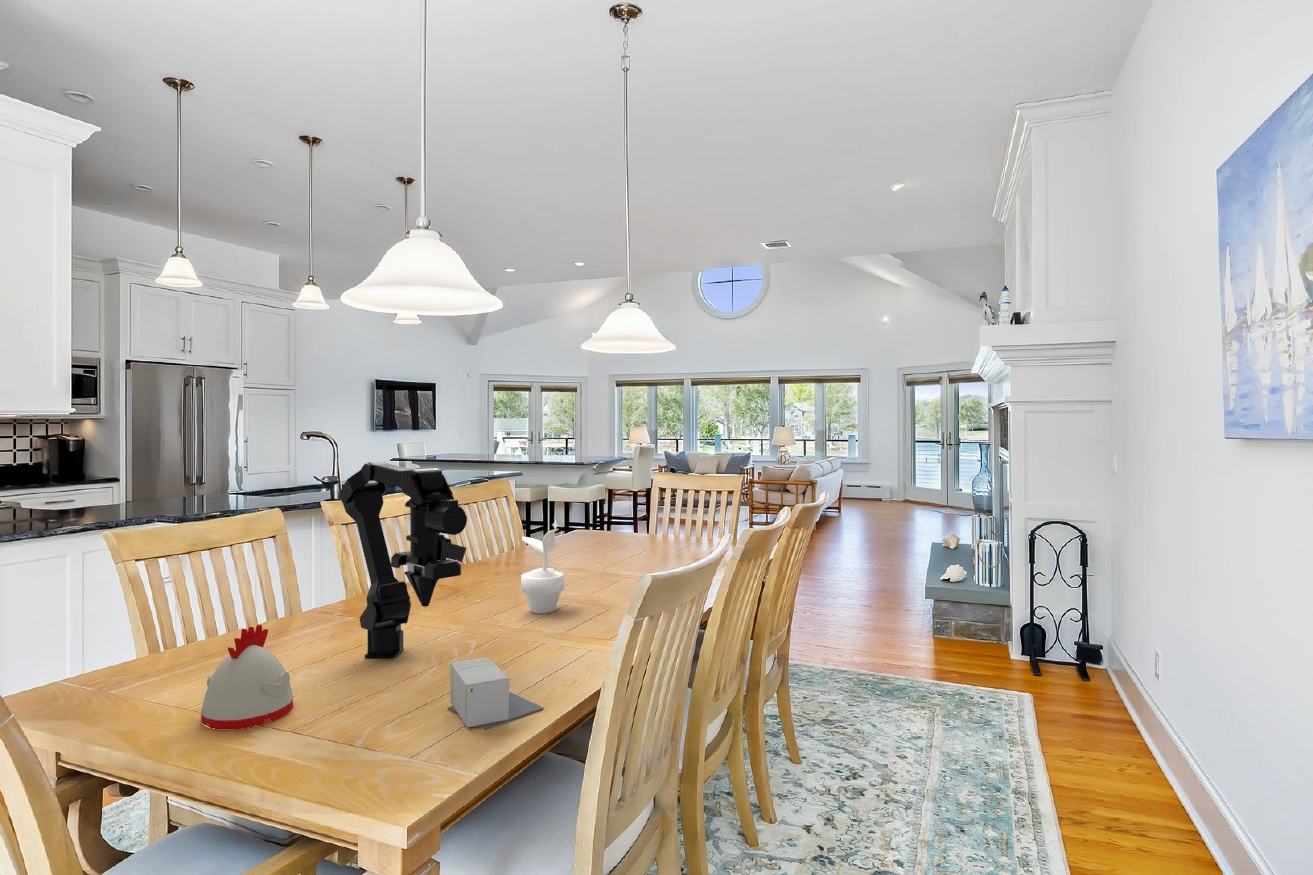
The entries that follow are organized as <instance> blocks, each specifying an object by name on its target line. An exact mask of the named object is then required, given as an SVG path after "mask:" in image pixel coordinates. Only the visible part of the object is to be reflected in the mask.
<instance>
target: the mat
mask: <svg viewBox="0 0 1313 875" xmlns="http://www.w3.org/2000/svg"><path fill="white" fill-rule="evenodd" d="M544 708H545V707H543V706H541V705H539V704H537V703H535V702H533V701H530V700H528V699H526V698H524V697H522V696H520V695H518V694H516V693H513V692H510V691H509V719H508V720H504V721H499V722H494V723H489V724H484V725H479V726H478V727H479V728H480V729H483V730H484V729H485V730H488V729H491V728H493V726H494V727H497V726H500V725H502V724H506V723H508V722H511V721H514V720H517V719H519V717H520V718H522V717H526V716H528V715H531V714H534V713H537V712H539V711H543V710H545V709H544ZM542 709H543V710H542ZM447 710H448V711H450V712H452V713H454V714H455V715H457V716H459V714H458V713H457V711H456V710H455V708H454V707H453V705H451V706H449V707H448V706H447ZM525 715H526V716H525ZM516 718H517V719H516ZM496 725H497V726H496Z"/></svg>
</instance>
